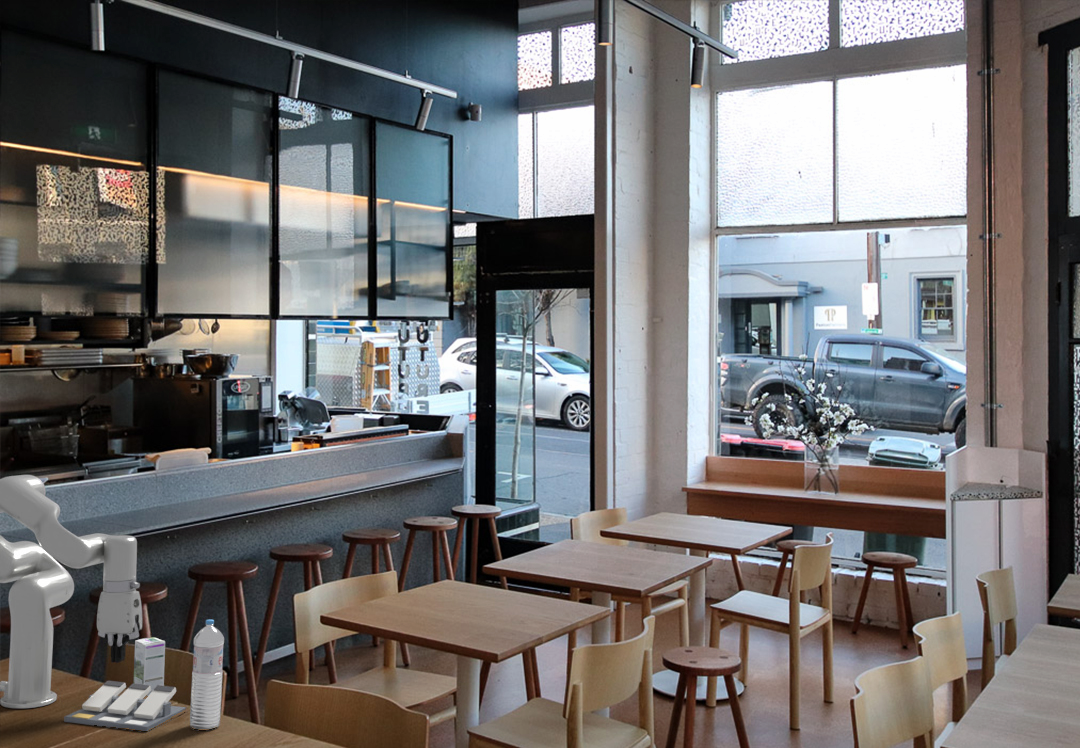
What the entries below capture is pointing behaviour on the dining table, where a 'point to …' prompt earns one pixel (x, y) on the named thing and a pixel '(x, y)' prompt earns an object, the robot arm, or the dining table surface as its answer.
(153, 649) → the syrup box
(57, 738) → the dining table surface
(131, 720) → the console
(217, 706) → the water bottle
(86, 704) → the switch
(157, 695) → the switch
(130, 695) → the switch mid
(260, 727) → the dining table surface
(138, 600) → the robot arm
